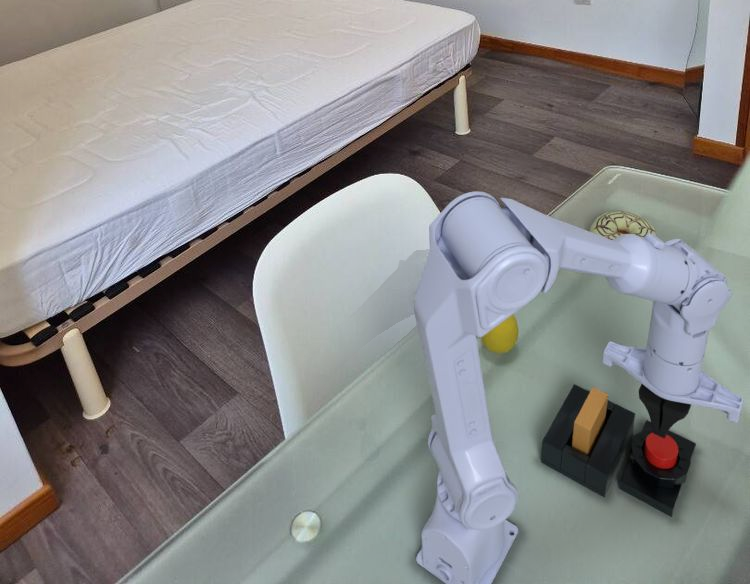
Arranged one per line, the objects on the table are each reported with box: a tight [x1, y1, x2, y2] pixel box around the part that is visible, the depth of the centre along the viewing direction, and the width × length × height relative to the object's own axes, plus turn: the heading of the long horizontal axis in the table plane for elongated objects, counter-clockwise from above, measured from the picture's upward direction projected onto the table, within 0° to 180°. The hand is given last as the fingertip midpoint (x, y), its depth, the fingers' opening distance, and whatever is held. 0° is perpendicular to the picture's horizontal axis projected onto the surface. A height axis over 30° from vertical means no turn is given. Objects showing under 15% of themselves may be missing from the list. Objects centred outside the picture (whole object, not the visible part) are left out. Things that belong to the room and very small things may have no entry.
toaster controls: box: [618, 419, 697, 518], centre depth 83 cm, size 10×6×3 cm, turn 143°
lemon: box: [480, 314, 519, 354], centre depth 99 cm, size 6×6×8 cm
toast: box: [572, 387, 609, 457], centre depth 85 cm, size 6×2×6 cm, turn 143°
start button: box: [644, 433, 678, 469], centre depth 82 cm, size 4×4×2 cm
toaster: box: [540, 383, 636, 498], centre depth 85 cm, size 10×8×4 cm
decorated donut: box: [589, 210, 657, 240], centre depth 120 cm, size 10×11×4 cm
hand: (661, 429), depth 80 cm, fingers closed
